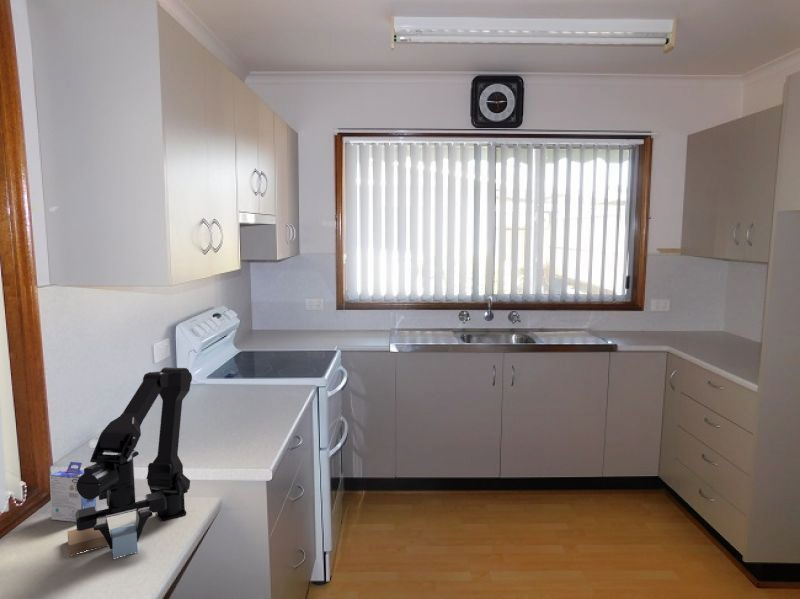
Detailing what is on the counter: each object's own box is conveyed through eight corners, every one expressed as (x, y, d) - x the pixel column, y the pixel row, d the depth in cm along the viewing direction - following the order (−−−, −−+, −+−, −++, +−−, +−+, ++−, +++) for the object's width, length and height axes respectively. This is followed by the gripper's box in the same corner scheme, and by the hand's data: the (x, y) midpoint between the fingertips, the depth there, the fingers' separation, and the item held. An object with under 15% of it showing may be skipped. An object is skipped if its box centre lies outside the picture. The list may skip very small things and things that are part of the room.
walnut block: (105, 533, 138) (104, 522, 138) (108, 547, 132) (107, 535, 131) (68, 543, 134) (67, 531, 134) (69, 557, 127) (68, 545, 127)
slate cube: (134, 543, 132) (133, 523, 132) (137, 552, 128) (136, 532, 128) (111, 549, 130) (110, 529, 129) (113, 559, 126) (112, 538, 125)
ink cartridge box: (98, 513, 148) (95, 461, 147) (82, 523, 143) (79, 469, 142) (67, 510, 150) (64, 459, 149) (50, 520, 145) (47, 467, 144)
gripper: (157, 461, 139) (160, 520, 141) (72, 478, 129) (76, 542, 131) (165, 475, 130) (168, 539, 131) (74, 495, 120) (79, 563, 121)
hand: (124, 545), depth 129 cm, fingers closed on slate cube, 5 cm apart
